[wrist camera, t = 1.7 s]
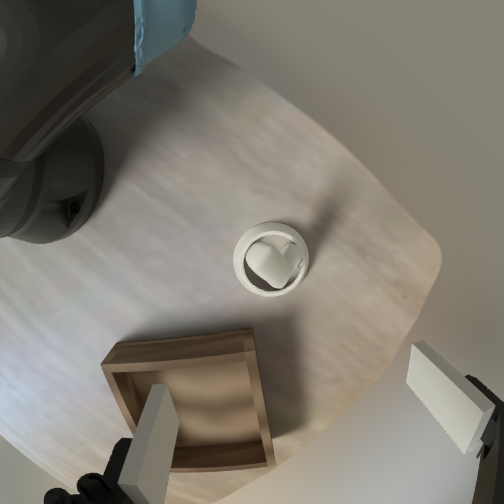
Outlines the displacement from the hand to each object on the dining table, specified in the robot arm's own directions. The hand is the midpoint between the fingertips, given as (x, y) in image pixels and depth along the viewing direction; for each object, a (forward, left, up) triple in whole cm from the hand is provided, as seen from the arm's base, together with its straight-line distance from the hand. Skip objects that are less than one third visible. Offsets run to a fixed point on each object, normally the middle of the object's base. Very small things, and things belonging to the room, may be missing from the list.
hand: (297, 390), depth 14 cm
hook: (-3, +1, -18) cm, 18 cm away
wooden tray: (+13, -10, -17) cm, 24 cm away
